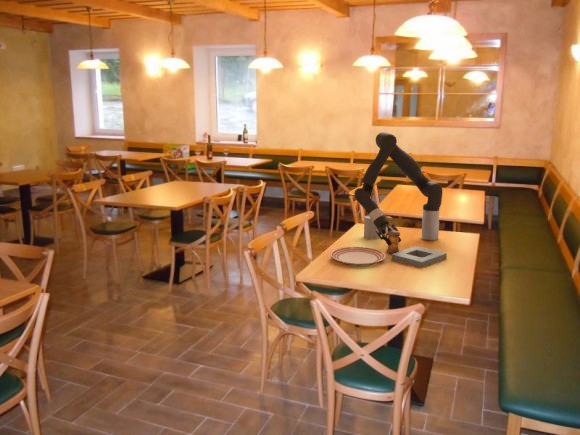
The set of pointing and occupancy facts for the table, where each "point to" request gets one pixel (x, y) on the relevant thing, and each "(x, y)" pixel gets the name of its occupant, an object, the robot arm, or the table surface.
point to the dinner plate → (358, 255)
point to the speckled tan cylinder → (369, 229)
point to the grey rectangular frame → (411, 258)
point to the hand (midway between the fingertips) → (395, 243)
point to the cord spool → (393, 241)
